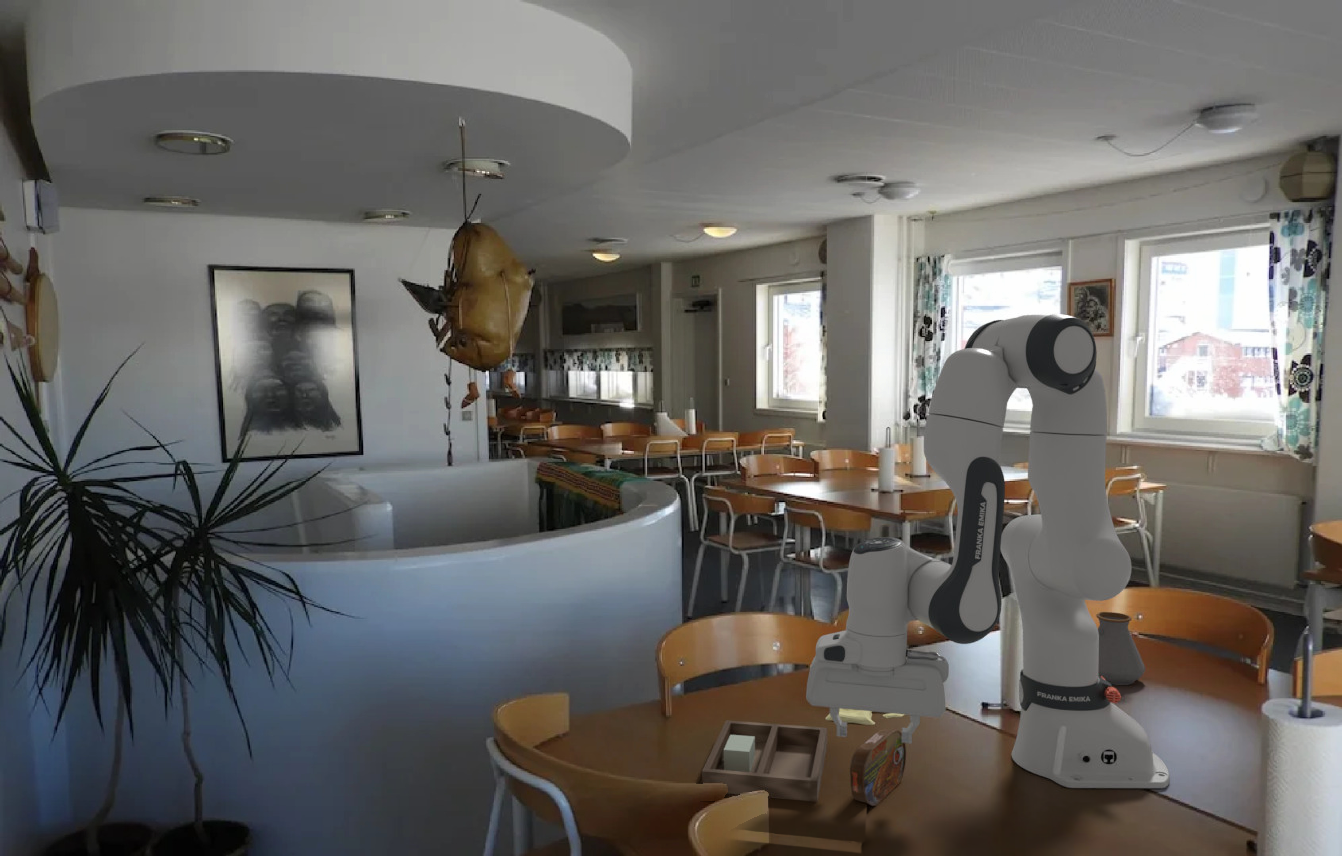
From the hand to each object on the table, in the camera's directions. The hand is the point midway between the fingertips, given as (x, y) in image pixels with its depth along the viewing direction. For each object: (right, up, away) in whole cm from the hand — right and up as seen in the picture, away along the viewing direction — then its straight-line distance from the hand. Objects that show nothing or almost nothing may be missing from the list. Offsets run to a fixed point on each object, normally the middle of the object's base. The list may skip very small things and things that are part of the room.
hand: (873, 738), depth 135 cm
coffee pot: (+54, -5, +46) cm, 71 cm away
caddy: (-15, -8, +8) cm, 19 cm away
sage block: (-19, -7, +9) cm, 22 cm away
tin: (+1, -9, +1) cm, 9 cm away
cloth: (+8, -7, +36) cm, 37 cm away
